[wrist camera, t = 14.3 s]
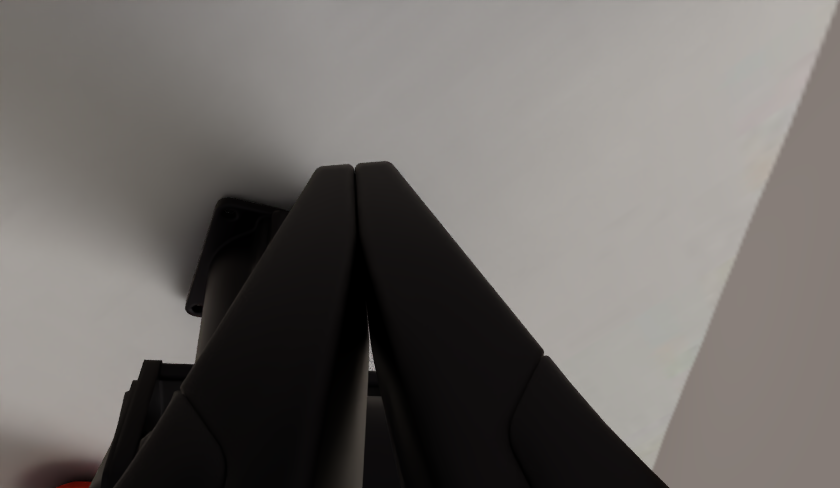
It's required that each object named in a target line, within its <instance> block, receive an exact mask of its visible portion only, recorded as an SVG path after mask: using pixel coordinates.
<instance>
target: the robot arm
mask: <svg viewBox="0 0 840 488" xmlns="http://www.w3.org/2000/svg"><path fill="white" fill-rule="evenodd" d="M225 210H232V211H234V212H233V213H228V212H226V211H225ZM185 310H186V311H187V313H189V314H190V315H192V316H196V317H202V319H201V326H200V333H199V339H198V346H197V353H196V360H195V364H170V363H162V360H144V362H143V365H142V368H141V371H140V374H139V377H138V380H133V382H132V384H131V387H130V390H129V391H127V392H125V395H124V399H123V404H122V408H121V412H120V417H119V421H118V425H117V429H116V432H115V436H114V439H113V441H112V443H111V446H110V447H109V449H108V451H107V453H106V455H105V457H104V459H103V461H102V463H101V465H100V467H99V469H98V471H97V473H96V475H95V477H94V478H93V480H92V482H91V484H90V486H89V488H669V487H668V486H667V485H666V484H665V483H664V482H663V481H662V480H661V479H660V478H659V477H658V476H657V475H656V474H655V473H654V472H653V471H652V470H651V469H650V468H649V467H648V466H647V465H646V464H645V463H644V462H643V461H642V460H641V459H640V458H639V457H638V456H637V455H636V454H635V453H634V452H633V451H632V450H631V449H630V448H629V447H628V446H627V445H626V444H625V443H624V442H623V441H622V440H621V439H620V438H619V437H618V436H617V435H616V434H615V433H614V432H613V431H612V430H611V428H610V427H609V426H608V425H607V424H606V423H605V422H604V421H603V420H602V419H601V418H600V416H599V415H598V414H597V413H596V412H595V411H594V409H593V408H592V407H591V406H590V405H589V404H588V403H587V401H586V400H585V399H584V398H583V397H582V396H581V394H580V393H579V392H578V391H577V390H576V389H575V388H574V386H573V385H572V384H571V383H570V382H569V380H568V379H567V378H566V377H565V375H564V374H563V373H562V372H561V371H560V369H559V368H558V367H557V366H556V364H555V363H554V362H553V361H552V359H551V358H550V357H549V356H543V355H544V350H543V349H542V348H541V346H540V345H539V344H538V343H537V341H536V340H535V339H534V338H533V337H532V335H531V334H530V333H529V332H528V330H527V329H526V328H525V327H524V325H523V324H522V323H521V322H520V320H519V319H518V318H517V317H516V316H515V314H514V313H513V312H512V311H511V309H510V308H509V307H508V306H507V304H506V303H505V302H504V301H503V300H502V298H501V297H500V296H499V295H498V293H497V292H496V291H495V290H494V288H493V287H492V286H491V285H490V284H489V282H488V281H487V280H486V279H485V277H484V276H483V275H482V274H481V272H480V271H479V270H478V269H477V268H476V266H475V265H474V264H473V263H472V261H471V260H470V259H469V258H468V256H467V255H466V254H465V253H464V252H463V250H462V249H461V248H460V247H459V245H458V244H457V243H456V242H455V240H454V239H453V238H452V237H451V236H450V234H449V233H448V232H447V231H446V229H445V228H444V227H443V226H442V224H441V223H440V222H439V221H438V220H437V218H436V217H435V216H434V215H433V213H432V212H431V211H430V210H429V208H428V207H427V206H426V205H425V203H424V202H423V201H422V200H421V199H420V197H419V196H418V195H417V194H416V192H415V191H414V190H413V189H412V187H411V186H410V185H409V184H408V183H407V181H406V180H405V179H404V178H403V176H402V175H401V174H400V173H399V171H398V170H397V169H396V168H395V167H394V165H393V164H392V163H390V162H388V161H381V162H369V163H359V164H358V165H356V167H355V171H354V168H353V167H352V166H351V165H349V164H343V165H331V166H321V167H319V168H317V169H316V170H315V172H314V173H313V175H312V177H311V178H310V180H309V181H308V183H307V185H306V186H305V188H304V189H303V191H302V193H301V194H300V196H299V197H298V199H297V201H296V202H295V204H294V205H293V207H292V209H291V210H290V211H286V210H282V209H278V208H274V207H270V206H266V205H261V204H257V203H253V202H249V201H245V200H241V199H236V198H230V197H227V198H222V199H221V200H219V201H218V202H217V204H216V207H215V210H214V213H213V216H212V220H211V223H210V226H209V229H208V232H207V236H206V239H205V242H204V245H203V248H202V252H201V255H200V258H199V261H198V265H197V268H196V271H195V274H194V277H193V281H192V284H191V287H190V290H189V293H188V297H187V300H186V306H185ZM367 315H368V316H367ZM368 324H369V329H368ZM369 333H370V341H371V348H372V354H373V359H374V364H375V369H376V371H368V370H369Z"/></svg>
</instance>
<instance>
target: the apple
mask: <svg viewBox="0 0 840 488" xmlns="http://www.w3.org/2000/svg"><path fill="white" fill-rule="evenodd" d="M90 484H91V482H85V481H73V482H70V483H67V484H64V485H60V486H58V487H56V488H89V486H90Z"/></svg>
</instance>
